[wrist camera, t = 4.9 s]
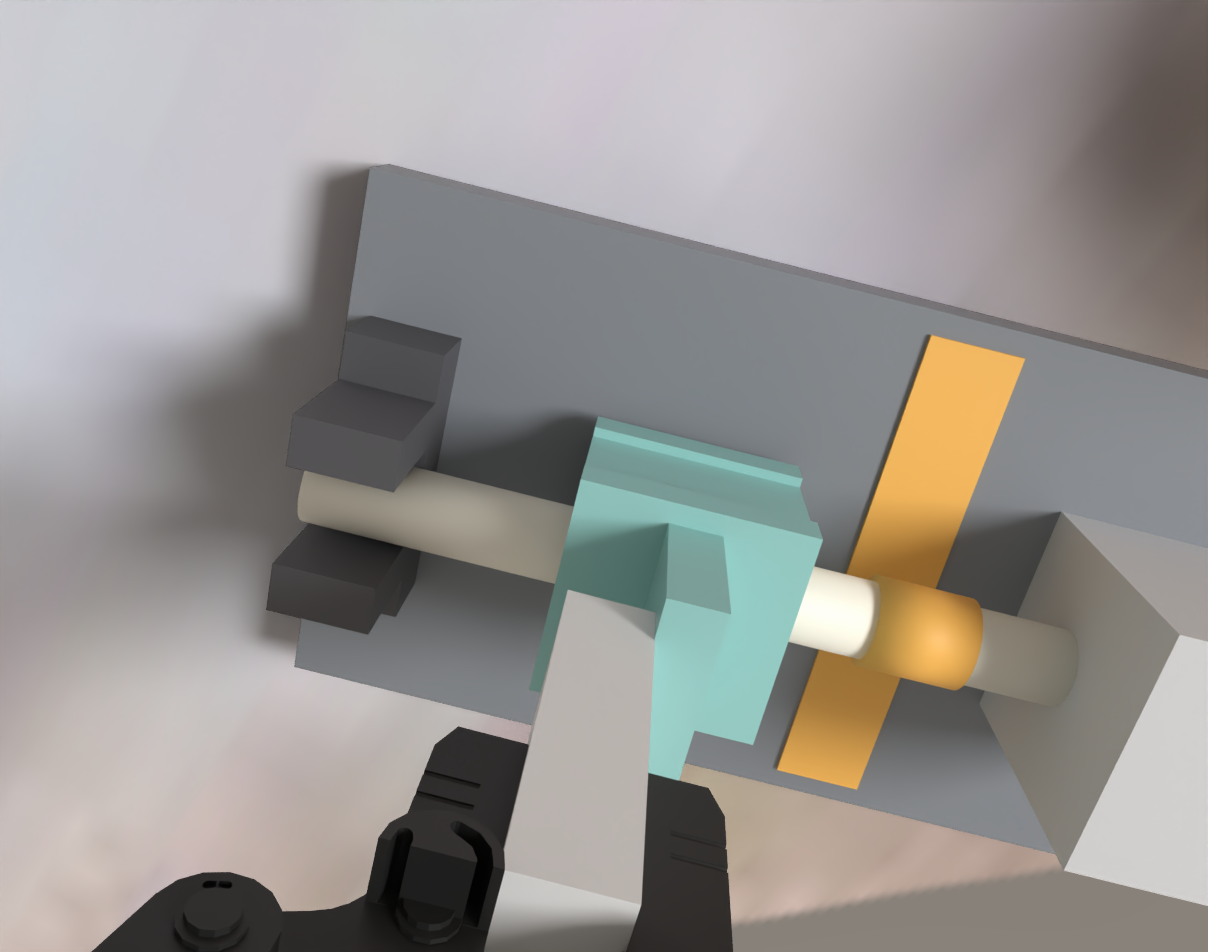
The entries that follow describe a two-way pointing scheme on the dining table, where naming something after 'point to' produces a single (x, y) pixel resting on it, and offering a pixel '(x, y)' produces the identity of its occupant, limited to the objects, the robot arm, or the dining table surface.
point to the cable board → (832, 497)
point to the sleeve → (691, 574)
